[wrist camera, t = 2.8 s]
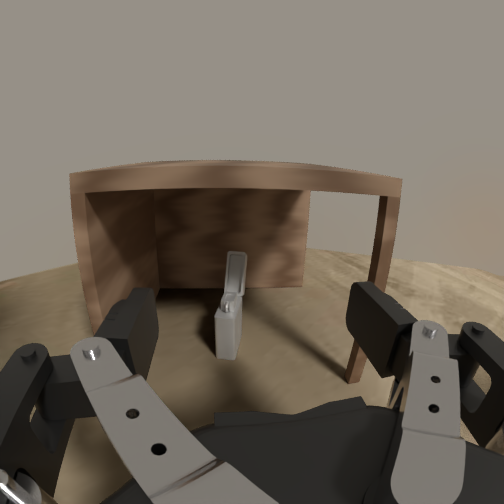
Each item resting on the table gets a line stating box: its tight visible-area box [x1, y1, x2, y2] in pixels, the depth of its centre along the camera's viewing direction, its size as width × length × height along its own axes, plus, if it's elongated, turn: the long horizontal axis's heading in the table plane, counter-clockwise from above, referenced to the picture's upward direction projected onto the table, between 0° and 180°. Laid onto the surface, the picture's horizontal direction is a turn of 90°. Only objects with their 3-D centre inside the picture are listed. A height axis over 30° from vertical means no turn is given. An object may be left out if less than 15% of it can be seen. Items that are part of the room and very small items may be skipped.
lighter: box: [214, 251, 247, 360], centre depth 26 cm, size 7×2×8 cm, turn 173°
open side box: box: [70, 160, 402, 384], centre depth 27 cm, size 20×20×16 cm
